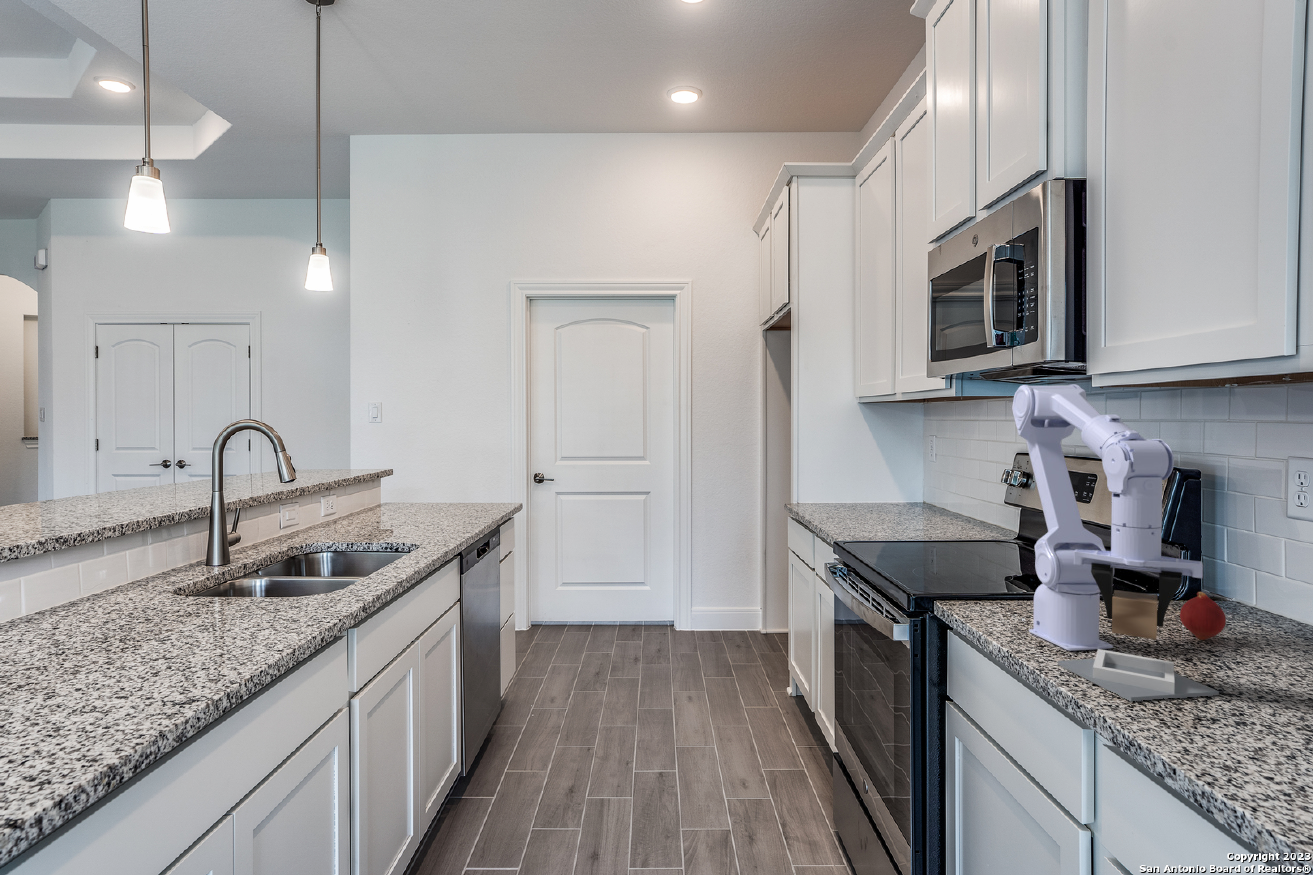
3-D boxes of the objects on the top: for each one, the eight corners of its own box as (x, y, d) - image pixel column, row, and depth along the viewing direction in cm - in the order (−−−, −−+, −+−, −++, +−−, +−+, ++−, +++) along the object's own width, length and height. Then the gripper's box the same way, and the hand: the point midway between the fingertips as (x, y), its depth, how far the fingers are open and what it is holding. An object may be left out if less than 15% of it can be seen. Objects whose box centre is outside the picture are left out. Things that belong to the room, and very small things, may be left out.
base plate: (1057, 664, 98) (1058, 650, 98) (1135, 659, 100) (1135, 646, 100) (1130, 701, 86) (1131, 685, 86) (1218, 695, 87) (1218, 680, 87)
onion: (1204, 633, 112) (1204, 587, 112) (1235, 645, 106) (1236, 596, 106) (1171, 634, 112) (1171, 587, 111) (1200, 645, 106) (1201, 597, 106)
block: (1111, 632, 92) (1112, 597, 92) (1114, 623, 96) (1114, 589, 96) (1156, 639, 89) (1157, 603, 89) (1156, 630, 93) (1157, 595, 93)
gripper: (1072, 524, 93) (1071, 618, 94) (1204, 534, 85) (1202, 638, 85) (1077, 517, 99) (1076, 606, 99) (1201, 527, 90) (1200, 624, 91)
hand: (1134, 620), depth 93 cm, fingers closed on block, 5 cm apart
